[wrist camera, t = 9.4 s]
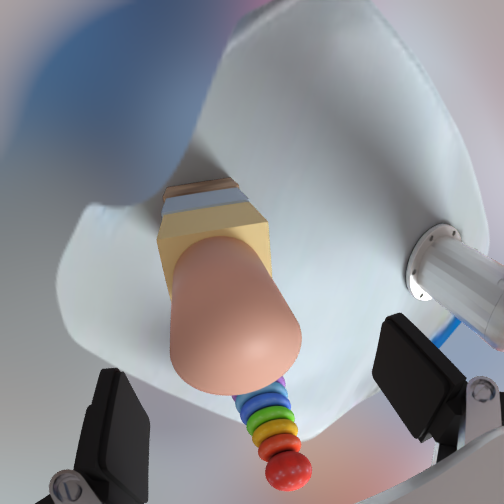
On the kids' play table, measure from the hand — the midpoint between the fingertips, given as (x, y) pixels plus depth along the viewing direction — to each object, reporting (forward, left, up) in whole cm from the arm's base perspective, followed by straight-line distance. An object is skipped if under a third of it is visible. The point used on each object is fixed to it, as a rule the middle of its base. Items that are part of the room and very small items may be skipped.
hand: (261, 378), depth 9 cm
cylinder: (+1, 0, -7) cm, 7 cm away
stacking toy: (-2, +24, -22) cm, 33 cm away
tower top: (+1, 0, -12) cm, 12 cm away
